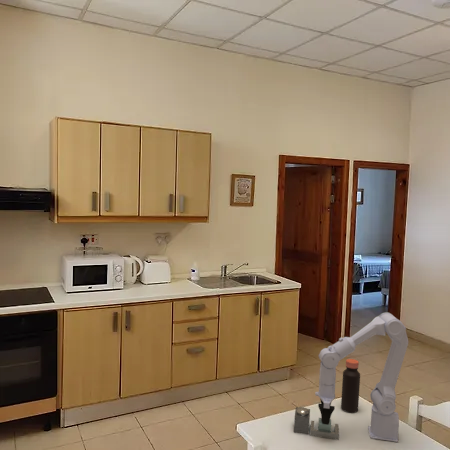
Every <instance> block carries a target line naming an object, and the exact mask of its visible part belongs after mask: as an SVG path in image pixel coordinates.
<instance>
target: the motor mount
mask: <svg viewBox="0 0 450 450" xmlns="http://www.w3.org/2000/svg"><path fill="white" fill-rule="evenodd" d="M310 419H311V409H310V408H307V407H305V406H304V407H303V406H302V407H301V406H300V407H298V406H296V407H295V411H294V419H293V421H294V422H293V424H294V425H293V433H297V434H304V435H309V434H310V435H309V436H311V437H315V438H316V437H318V438H323V439H324V438H325V439H329V440H336V441H337V440H338V441H339V440H340V427H339V424H338V423H334V431H332V430H331V431H324V430H318V428H315V420H311V421H310ZM309 430H310V431H309Z"/></svg>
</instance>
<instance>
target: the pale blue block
mask: <svg viewBox="0 0 450 450" xmlns="http://www.w3.org/2000/svg"><path fill="white" fill-rule="evenodd" d="M317 423H318V425H317V430H324V431H331V432H332V419H331V418H330V422H329V424H328V425H327V424H323V423H322V417H318V422H317Z"/></svg>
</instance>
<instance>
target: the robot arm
mask: <svg viewBox="0 0 450 450" xmlns="http://www.w3.org/2000/svg"><path fill="white" fill-rule="evenodd" d="M406 330H407V327H406V326H405V324H404V323H403V322H402V321H401V320H400V319H398V318H397V317H395V316H394V315H393V314H392V313H390V312H387V311H386V312H382V313H380V314H379V315H377V316H376V317H374V318H373V319H372V321H370V322H369V323H368V324H366V325H365V326H364V327H362V328H361V329H360V330H358V331H357V332H356V333H354V334H352V336H350V337H349V336H344V337H342V336H341V337H340V338H338V341H336V342H335V343H333V344H331V345H329V346H328V347H327V348H326V347H324V348H322V349H321V350H320V351H319V354H318V358H319V360H320V367H319V378H318V382H319V383H318V391H315V393H314V394H315V397H316V396H317V397H318V398H319V399H320V403H318V405H317V406H318V409H319V412H320V418H322V423H323V424H327V425H328V424H329V422H330V419H331V417H332V414H333V412H334V411H335V407H336V406H334V405H332V402H333V401H334V400H335V399H336V377H337V367H338V365H339V363H340V361H341V360H343V359H344V358H346V357H347V356H349V355H351V354H352V353H354V352H355V351H356V348H357V346H358V345H359V344H361V343H363V342H364V341H365V342H366V341H367V340H369V339H370V338H372V337H373V336H375V335H377V336H384V337H385V336H388V337H389V340H390V341H391V343H390V346H389V350H388V353H387V357H386V359H385V363H384V366H383V367H384V368H383V370H382V373H381V377H380V380H379V381H378V382H377V383H376V384H375V387H374V388H373V389H372V390H371V392H370V400H371V402H372V406H371V414H370V417H371V418H370V425H368V426H367V429H368V433H369V438H370V439H375V440H381V441H389V442H395V443H396V442H397V443H398V442H399V427H400V416H399V413H398V412H397V411H396V409H397V408H396V399H397V395H396V394H397V393H396V390H395V389H396V385H397V383H398V379H399V375H400V372H401V368H402V366H403V363H404V360H405V356H406V352H407V350H408V346H409V339H408V334H407V331H406ZM386 334H387V335H386Z"/></svg>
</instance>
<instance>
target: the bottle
mask: <svg viewBox="0 0 450 450" xmlns="http://www.w3.org/2000/svg"><path fill="white" fill-rule="evenodd" d="M359 363H360V362H359V361H358V360H356V359H354V358H347V359H346V360H345V370H343V371H342V385H341V386H342V387H341V399H340V400H341V401H340V403H341V404H340V409H341V410H343V411H344V412H345V413H351V414H353V413H357V412H358V411H359V403H360V401H359V399H360V386H361V373H360V372H359V371H358V369H359Z"/></svg>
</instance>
